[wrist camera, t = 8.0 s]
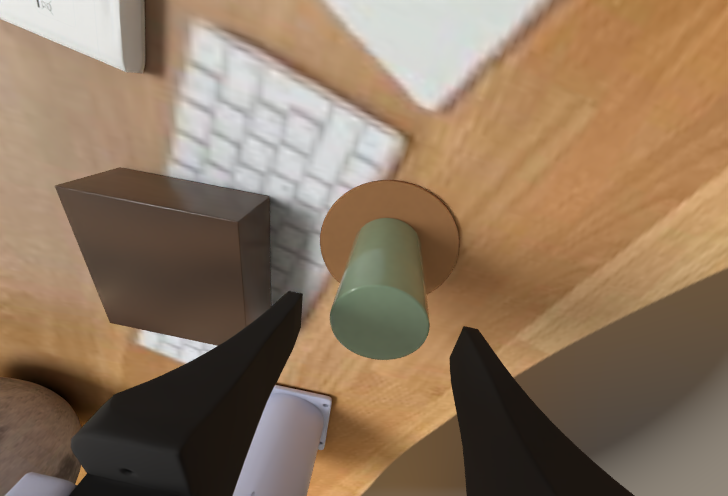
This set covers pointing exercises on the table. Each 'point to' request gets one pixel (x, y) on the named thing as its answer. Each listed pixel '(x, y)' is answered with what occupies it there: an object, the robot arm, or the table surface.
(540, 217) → the table surface
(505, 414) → the robot arm
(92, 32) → the hard drive
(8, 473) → the moon model
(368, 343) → the sage green cylinder
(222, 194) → the stand
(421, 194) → the coaster
